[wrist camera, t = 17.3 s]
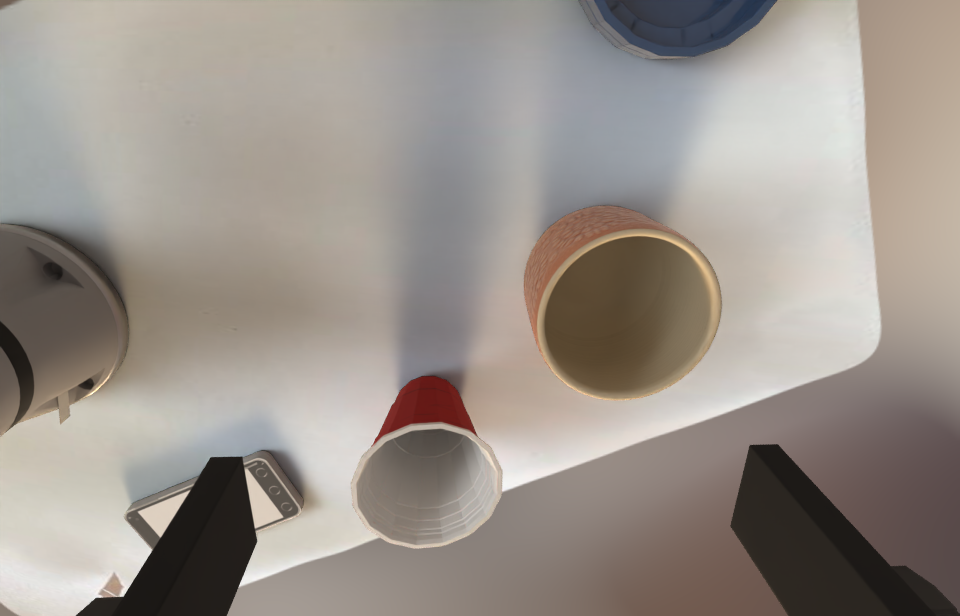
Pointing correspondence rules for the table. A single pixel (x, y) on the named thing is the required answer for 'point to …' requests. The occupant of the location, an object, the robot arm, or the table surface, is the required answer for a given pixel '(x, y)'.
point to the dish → (674, 24)
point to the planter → (620, 302)
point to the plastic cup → (426, 470)
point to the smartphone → (266, 492)
